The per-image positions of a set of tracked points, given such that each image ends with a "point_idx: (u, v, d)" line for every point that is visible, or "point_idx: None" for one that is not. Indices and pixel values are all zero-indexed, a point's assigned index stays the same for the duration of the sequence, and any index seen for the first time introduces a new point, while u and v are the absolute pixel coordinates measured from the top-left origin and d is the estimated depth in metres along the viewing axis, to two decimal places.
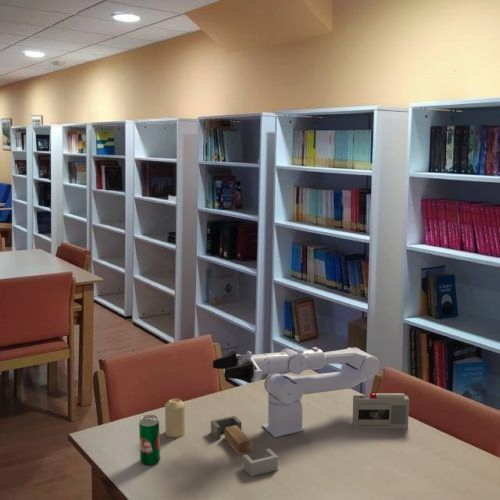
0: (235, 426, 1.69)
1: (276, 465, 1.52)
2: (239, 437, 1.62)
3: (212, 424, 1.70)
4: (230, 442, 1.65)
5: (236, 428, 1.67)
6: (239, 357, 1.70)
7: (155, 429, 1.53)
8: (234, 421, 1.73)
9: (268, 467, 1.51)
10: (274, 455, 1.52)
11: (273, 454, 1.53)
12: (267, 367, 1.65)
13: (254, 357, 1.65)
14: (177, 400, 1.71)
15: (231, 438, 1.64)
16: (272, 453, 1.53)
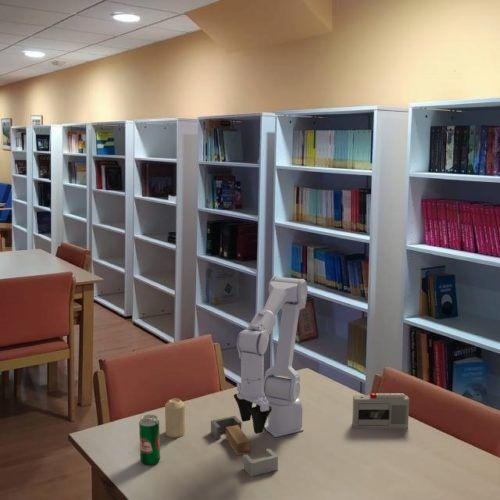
0: (236, 426, 1.69)
1: (276, 465, 1.52)
2: (239, 437, 1.62)
3: (212, 424, 1.70)
4: (230, 442, 1.65)
5: (237, 428, 1.67)
6: None
7: (155, 429, 1.53)
8: (234, 421, 1.73)
9: (268, 467, 1.51)
10: (274, 455, 1.52)
11: (273, 454, 1.53)
12: (257, 381, 1.50)
13: (244, 393, 1.51)
14: (177, 400, 1.71)
15: (231, 438, 1.64)
16: (272, 453, 1.53)
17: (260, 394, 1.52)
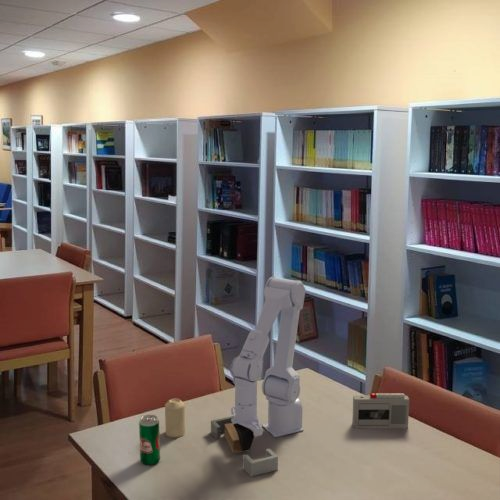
0: None
1: (276, 465, 1.52)
2: (235, 434, 1.63)
3: (212, 424, 1.70)
4: (228, 439, 1.66)
5: None
6: None
7: (155, 429, 1.53)
8: None
9: (268, 467, 1.51)
10: (274, 455, 1.52)
11: (273, 454, 1.53)
12: (250, 406, 1.55)
13: (238, 418, 1.56)
14: (177, 400, 1.71)
15: (228, 435, 1.65)
16: (272, 453, 1.53)
17: (253, 419, 1.56)
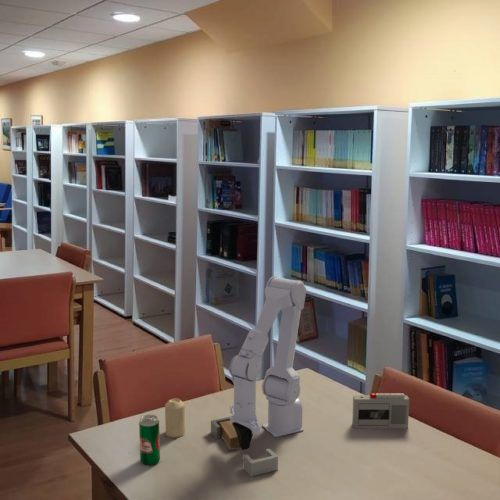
0: (230, 421, 1.71)
1: (276, 465, 1.52)
2: (232, 432, 1.65)
3: (212, 424, 1.70)
4: (223, 437, 1.68)
5: (230, 423, 1.70)
6: None
7: (155, 429, 1.53)
8: None
9: (268, 467, 1.51)
10: (274, 455, 1.52)
11: (273, 454, 1.53)
12: (249, 405, 1.56)
13: (237, 416, 1.57)
14: (177, 400, 1.71)
15: (224, 433, 1.67)
16: (272, 453, 1.53)
17: (252, 417, 1.57)
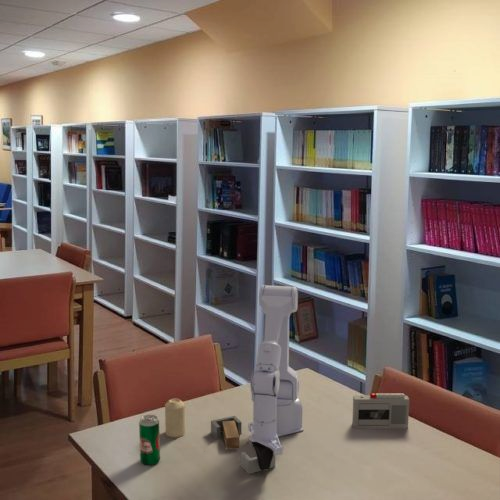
0: (233, 421, 1.71)
1: (273, 462, 1.53)
2: (230, 432, 1.65)
3: (212, 424, 1.70)
4: (224, 436, 1.68)
5: (232, 423, 1.70)
6: None
7: (155, 429, 1.53)
8: None
9: None
10: None
11: None
12: (270, 423, 1.46)
13: (257, 435, 1.47)
14: (177, 400, 1.71)
15: (224, 433, 1.67)
16: None
17: (273, 436, 1.47)
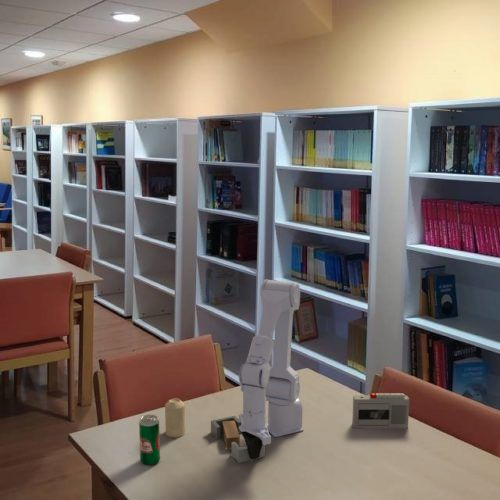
0: (233, 421, 1.71)
1: (263, 452, 1.58)
2: (230, 432, 1.65)
3: (212, 424, 1.70)
4: (224, 436, 1.68)
5: (232, 423, 1.70)
6: None
7: (155, 429, 1.53)
8: None
9: None
10: None
11: None
12: (259, 414, 1.51)
13: (247, 425, 1.52)
14: (177, 400, 1.71)
15: (224, 433, 1.67)
16: None
17: (262, 426, 1.52)
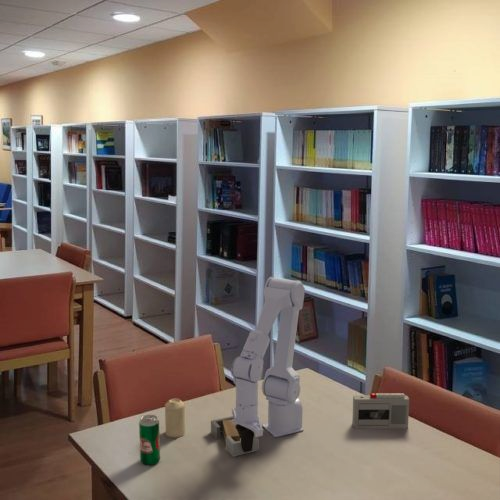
0: None
1: (257, 446, 1.61)
2: (230, 431, 1.65)
3: (212, 424, 1.70)
4: (224, 435, 1.68)
5: None
6: None
7: (155, 429, 1.53)
8: None
9: None
10: (255, 437, 1.62)
11: (254, 436, 1.62)
12: (251, 407, 1.55)
13: (239, 418, 1.56)
14: (177, 400, 1.71)
15: (224, 431, 1.67)
16: None
17: (254, 419, 1.56)
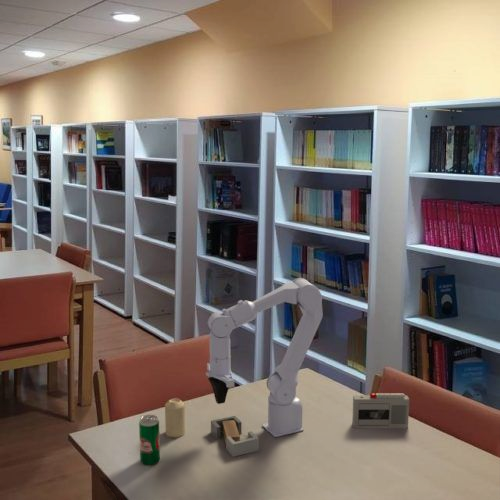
0: (233, 421, 1.72)
1: (257, 446, 1.61)
2: (230, 432, 1.65)
3: (212, 424, 1.70)
4: (224, 436, 1.68)
5: (232, 423, 1.70)
6: None
7: (155, 429, 1.53)
8: None
9: (249, 448, 1.60)
10: (255, 437, 1.62)
11: (254, 436, 1.62)
12: (224, 360, 1.63)
13: (213, 371, 1.64)
14: (177, 400, 1.71)
15: (224, 432, 1.67)
16: (253, 435, 1.63)
17: (227, 372, 1.65)
